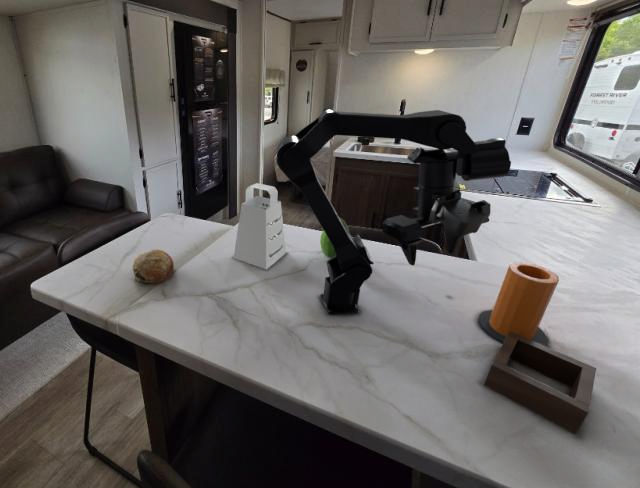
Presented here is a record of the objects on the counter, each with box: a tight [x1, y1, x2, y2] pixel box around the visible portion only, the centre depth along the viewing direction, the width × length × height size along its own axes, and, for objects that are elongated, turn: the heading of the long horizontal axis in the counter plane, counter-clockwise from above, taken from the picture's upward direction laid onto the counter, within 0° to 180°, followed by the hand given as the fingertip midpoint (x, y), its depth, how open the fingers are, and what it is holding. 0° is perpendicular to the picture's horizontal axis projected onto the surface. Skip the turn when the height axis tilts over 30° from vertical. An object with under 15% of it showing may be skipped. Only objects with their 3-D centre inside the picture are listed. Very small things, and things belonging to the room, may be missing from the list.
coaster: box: [477, 309, 549, 347], centre depth 67 cm, size 11×11×1 cm
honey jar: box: [489, 261, 560, 340], centre depth 64 cm, size 7×7×13 cm
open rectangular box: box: [483, 331, 597, 435], centre depth 54 cm, size 11×11×4 cm
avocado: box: [319, 217, 351, 259], centre depth 90 cm, size 8×8×12 cm
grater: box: [233, 182, 287, 270], centre depth 90 cm, size 10×10×20 cm
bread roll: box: [132, 249, 174, 284], centre depth 85 cm, size 10×10×8 cm
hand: (431, 258), depth 67 cm, fingers open, 9 cm apart
